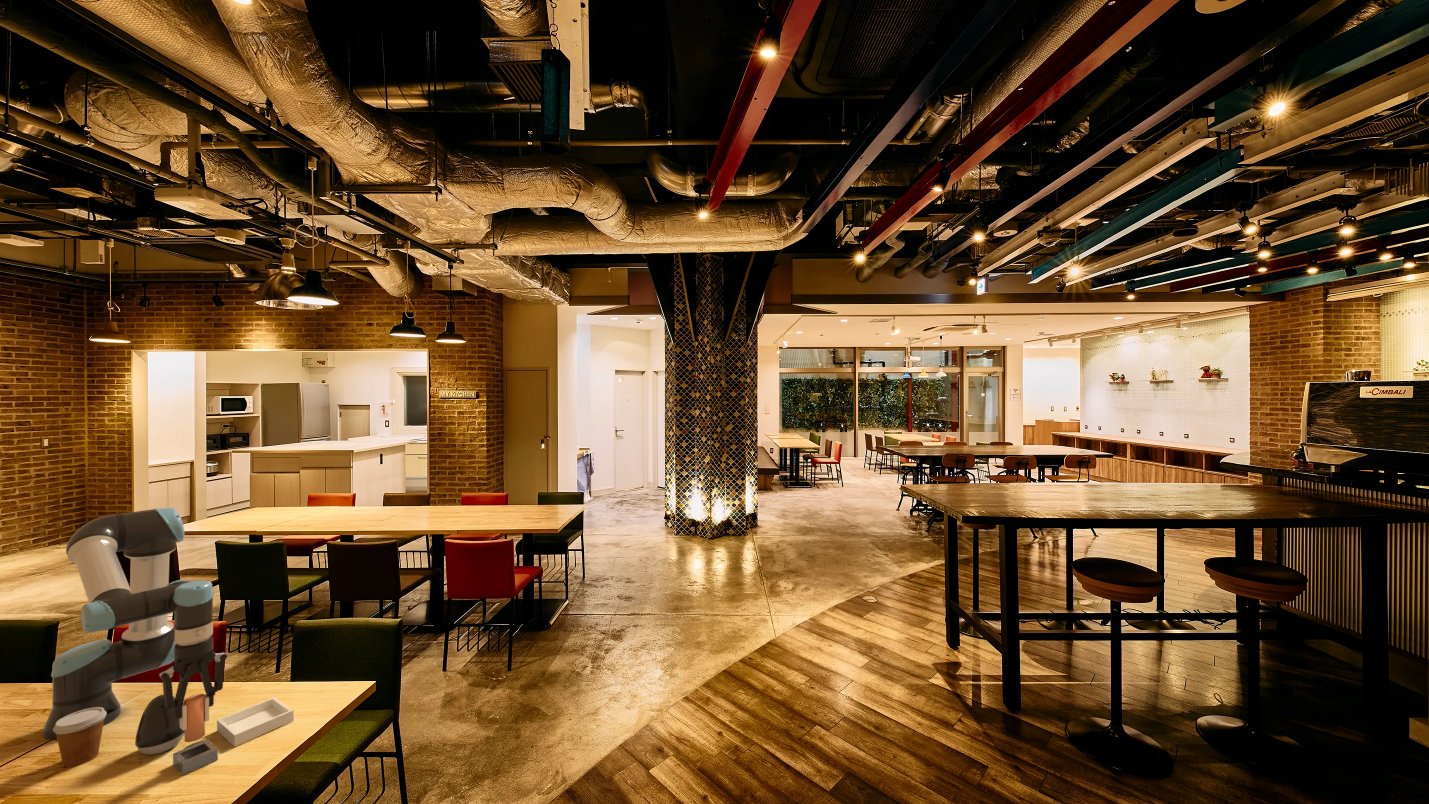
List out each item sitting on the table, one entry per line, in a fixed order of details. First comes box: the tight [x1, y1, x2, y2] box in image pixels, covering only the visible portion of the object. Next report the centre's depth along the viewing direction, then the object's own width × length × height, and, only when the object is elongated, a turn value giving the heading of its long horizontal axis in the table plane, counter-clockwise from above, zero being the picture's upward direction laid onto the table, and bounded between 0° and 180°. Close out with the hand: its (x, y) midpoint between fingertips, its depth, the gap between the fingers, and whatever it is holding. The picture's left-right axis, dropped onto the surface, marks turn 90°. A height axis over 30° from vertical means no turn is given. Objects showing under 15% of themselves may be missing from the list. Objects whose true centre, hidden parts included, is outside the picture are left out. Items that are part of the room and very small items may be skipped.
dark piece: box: [134, 693, 184, 756], centre depth 149 cm, size 10×10×15 cm
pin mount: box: [172, 738, 219, 776], centre depth 144 cm, size 8×7×3 cm
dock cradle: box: [216, 696, 295, 748], centre depth 160 cm, size 14×14×3 cm
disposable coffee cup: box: [53, 707, 107, 768], centre depth 145 cm, size 10×10×12 cm
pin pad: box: [183, 739, 206, 749], centre depth 149 cm, size 6×6×1 cm
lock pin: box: [183, 693, 206, 743], centre depth 144 cm, size 4×4×11 cm
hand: (194, 723), depth 144 cm, fingers closed on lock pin, 4 cm apart
